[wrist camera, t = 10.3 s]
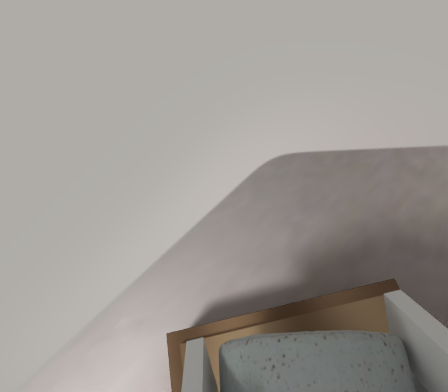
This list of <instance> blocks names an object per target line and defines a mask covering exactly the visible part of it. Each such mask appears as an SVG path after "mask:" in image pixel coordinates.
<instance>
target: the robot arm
mask: <svg viewBox="0 0 448 392" xmlns="http://www.w3.org/2000/svg"><path fill="white" fill-rule="evenodd" d="M384 300H385V308H386V315H387V322H388V329H389V334H392V335H396V336H398V337H399V338H400V339H401V340H402V342H403V344H404V347H405V350H406V352H407V357H408V361H409V366H410V370H411V372H412V373H413V374H414V375H415V376H416V378H417V379H418V380H419V381H420V382H421V383H422V385H423V386H424V387H425V388H426V389H427V391H428V392H448V329H447V328H446V327H445V326H444V325H443V324H441V323H440V322H439V321H438V320H437V319H435V318H434V317H433V316H432V315H431V314H429V313H428V312H427V311H426V310H425V309H423V308H422V307H421V306H420V305H419V304H417V303H416V302H415V301H414V300H412V299H411V298H410V297H409V296H408V295H406V294H405V293H404V292H403V291H402V290H397V291H393V292H389V293H384ZM181 392H218V386H217V383H216V379H215V376H214V372H213V369H212V365H211V362H210V358H209V355H208V351H207V348H206V344H205V341H204V337H202V338H198V339H194V340H190V341H186V351H185V360H184V370H183V379H182V389H181Z"/></svg>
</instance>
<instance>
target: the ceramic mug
mask: <svg viewBox="0 0 448 392" xmlns="http://www.w3.org/2000/svg"><path fill="white" fill-rule="evenodd" d="M219 376H220V392H428V391H427V389H426V388H425V387H424V386H423V385H422V383H421V382H420V381H419V380H418V379H417V378H416V376H415V375H414V374H413V373H412V372H411V370H410V366H409V361H408V357H407V352H406V350H405V347H404V344H403V342H402V340H401V339H400V338H399V337H398V336H396V335H392V334H389V333H382V332H369V331H351V330H340V331H313V332H310V331H304V332H291V333H271V334H257V335H250V336H245V337H242V338H240V339H232V340H228V341H227V342H225V343H223V344H222V345H221V346H220V348H219Z"/></svg>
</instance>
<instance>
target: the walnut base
mask: <svg viewBox="0 0 448 392" xmlns="http://www.w3.org/2000/svg"><path fill="white" fill-rule="evenodd" d="M397 290H400V289H399V287H398V285H397V283H396V281H395V279H390V280H386V281H382V282H378V283H374V284H369V285H365V286H361V287H357V288H353V289H349V290H345V291H341V292H336V293H332V294H328V295H324V296H320V297H316V298H312V299H307V300H303V301H299V302H295V303H291V304H287V305H283V306H278V307H274V308H270V309H266V310H262V311H258V312H254V313H250V314H245V315H241V316H237V317H233V318H229V319H225V320H221V321H216V322H212V323H208V324H204V325H200V326H196V327H192V328H188V329H183V330H179V331H175V332H171V333H167V345H168V356H169V367H170V377H171V388H172V392H181V389H182V379H183V370H184V360H185V351H186V341H190V340H194V339H198V338H202V337H204V341H205V344H206V348H207V351H208V355H209V358H210V362H211V365H212V369H213V372H214V376H215V379H216V383H217V386H218V392H220V376H219V348H220V346H221V345H222V344H223V343H225V342H227V341H228V340H232V339H240V338H242V337H245V336H250V335H257V334H271V333H291V332H304V331H310V332H313V331H340V330H351V331H369V332H382V333H389V329H388V322H387V315H386V308H385V300H384V293H389V292H393V291H397Z"/></svg>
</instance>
